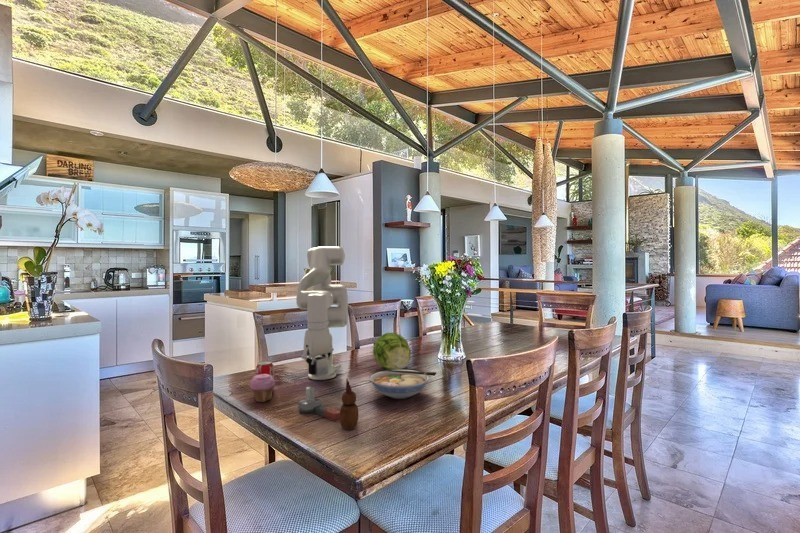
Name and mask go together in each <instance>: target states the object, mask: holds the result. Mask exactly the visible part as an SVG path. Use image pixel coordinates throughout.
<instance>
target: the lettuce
mask: <svg viewBox="0 0 800 533" xmlns="http://www.w3.org/2000/svg"><path fill="white" fill-rule="evenodd" d="M411 353H412V350H411V348H410V344H409V343H408V341H407V339H406V338H405V337H403V336H402V335H400V334H397V333H395V332H386V333H383V334H381V335H380V336H379V337H378V338H377V339H376V340H375V343H374V345H373V355H374V358H375V360H376V362H377V363H378V364H379V365H380V366H381V367H382V368H383V369H384V370H404V369H405V368H406V367H407V365H408V364H409V362H410V360H411V355H412V354H411Z"/></svg>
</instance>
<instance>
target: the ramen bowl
mask: <svg viewBox="0 0 800 533" xmlns="http://www.w3.org/2000/svg"><path fill="white" fill-rule="evenodd" d="M375 371H378V372H376V373H374V374H371V376H370V377H369V380H370V381H371V383H372V385H373V386H374V388H375V389H376V390H377V391H378V393H380V394H382V395H384V396H386V397H388V398H389V397H390V398H391V399H393V400H394V399H395V400H396V399H397V400H404V399H408V398H409V397H413V396H415V395H417V394H418V393H420V392H421V391H423V389H424V388H425V387H426V385H427V383H428V380H429V377H430V376H432V377H433V376H436V375H437V372H435V371H434V372H433V371H431V372H430V371H417V370H411V369H401V370H387V369H377V368H376V369H375Z"/></svg>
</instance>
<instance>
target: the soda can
mask: <svg viewBox="0 0 800 533" xmlns="http://www.w3.org/2000/svg"><path fill="white" fill-rule="evenodd" d="M261 374H269V375H270V376H272V377H273V378H274V379H275V365H274V364H273V361H272V360H262V361H258V362H257V364H256V366H255V376H256V375H261ZM274 390H275V386H274V387H273V390H272V392H274Z"/></svg>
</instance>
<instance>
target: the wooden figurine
mask: <svg viewBox="0 0 800 533" xmlns="http://www.w3.org/2000/svg"><path fill="white" fill-rule="evenodd" d="M345 382H346V384H345V391H344V392H343V393H342V394H341V402H342V404H341V406H340V409H339V411H340V420H339V421H340V425H341V428H342V429H344V430H346V431H349V430H354V429H355V428H356V427H357V425H358V422H359V408H358V405H357V403H356V401H357V394H356V392H355V391H354V390H353V389H352V388H351V384H350V381H349V380H348V378H346V381H345Z"/></svg>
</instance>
